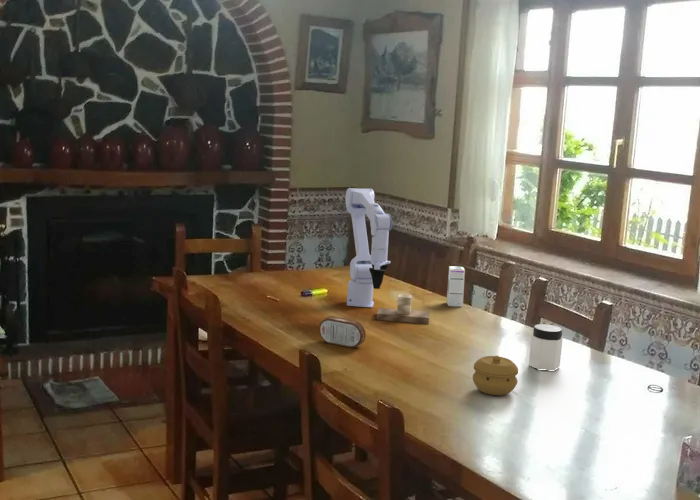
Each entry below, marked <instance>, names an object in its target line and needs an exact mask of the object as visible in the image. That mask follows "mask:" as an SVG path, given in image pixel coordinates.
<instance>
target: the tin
mask: <svg viewBox="0 0 700 500" xmlns="http://www.w3.org/2000/svg"><path fill="white" fill-rule="evenodd" d="M318 334H319V336H320V338H321V339H322V340H323V341H324V342H326V343H327V344H330V345H334V346H335V345H336V346H340V347H345V348H351V349H352V348H353V349H354V348H357V347H359V346H361V345H362V344H363V343H364V342H365V340H366V336H367V335H366V334H367V333H366V330H365V327H364V326H363V325H362V323H361V322H360V321H357V320H354V319H349V318H346V317H345V318H343V317H339V316H334V315H331V316H330V315H329V316H327V317H325V318H324V319H323V320H322V321H321V322H320V323H319V326H318Z"/></svg>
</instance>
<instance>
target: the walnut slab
mask: <svg viewBox="0 0 700 500" xmlns="http://www.w3.org/2000/svg"><path fill="white" fill-rule="evenodd" d="M376 320H377V321H389V322H399V323H400V322H401V323H413V324H424V325H429V321H430V311H422V310H412V309H411V312H410V315H406V314H397V308H387V307H379V308H378V309H377V312H376Z"/></svg>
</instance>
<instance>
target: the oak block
mask: <svg viewBox="0 0 700 500" xmlns="http://www.w3.org/2000/svg"><path fill="white" fill-rule="evenodd" d="M412 296H413V295H411V294H402V293H401V294H400V293H399V294H398V296H397V308H396V309H397V314H406V315H410V312H411V310H412Z"/></svg>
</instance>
